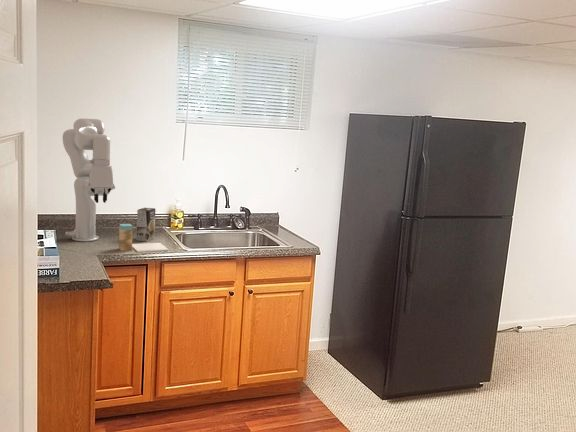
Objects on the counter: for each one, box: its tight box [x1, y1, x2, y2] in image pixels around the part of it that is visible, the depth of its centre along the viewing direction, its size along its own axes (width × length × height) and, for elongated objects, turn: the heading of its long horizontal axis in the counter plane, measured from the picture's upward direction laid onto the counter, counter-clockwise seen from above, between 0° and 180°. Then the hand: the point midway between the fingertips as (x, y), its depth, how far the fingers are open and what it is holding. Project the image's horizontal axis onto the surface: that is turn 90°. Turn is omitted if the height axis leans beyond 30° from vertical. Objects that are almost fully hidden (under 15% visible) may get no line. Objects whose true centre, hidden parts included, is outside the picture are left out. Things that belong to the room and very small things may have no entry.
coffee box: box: [136, 207, 156, 242], centre depth 305 cm, size 9×6×16 cm
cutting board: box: [132, 242, 169, 253], centre depth 288 cm, size 15×14×1 cm
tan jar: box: [118, 223, 134, 252], centre depth 282 cm, size 5×5×12 cm
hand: (100, 202), depth 273 cm, fingers open, 2 cm apart
